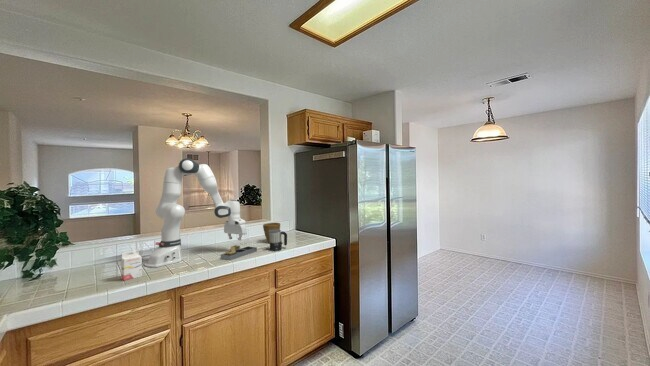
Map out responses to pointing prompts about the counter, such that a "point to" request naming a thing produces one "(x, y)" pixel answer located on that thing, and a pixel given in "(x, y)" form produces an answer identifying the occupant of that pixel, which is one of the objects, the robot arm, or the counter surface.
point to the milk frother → (276, 240)
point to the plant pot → (269, 227)
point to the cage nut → (235, 247)
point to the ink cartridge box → (131, 265)
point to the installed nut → (230, 252)
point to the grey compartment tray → (239, 253)
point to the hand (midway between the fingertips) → (235, 239)
